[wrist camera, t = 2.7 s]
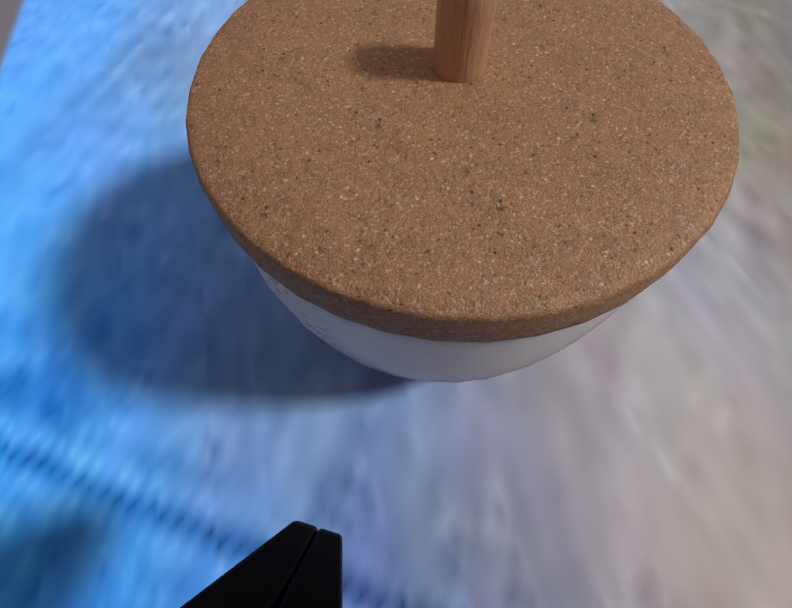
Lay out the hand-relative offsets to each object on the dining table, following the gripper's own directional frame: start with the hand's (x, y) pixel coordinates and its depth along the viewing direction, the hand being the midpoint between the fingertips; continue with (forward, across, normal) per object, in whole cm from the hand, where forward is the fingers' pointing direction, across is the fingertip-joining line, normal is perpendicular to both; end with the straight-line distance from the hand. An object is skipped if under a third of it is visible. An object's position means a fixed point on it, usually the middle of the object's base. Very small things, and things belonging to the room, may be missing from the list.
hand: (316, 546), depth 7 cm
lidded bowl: (+12, 0, -2) cm, 13 cm away
